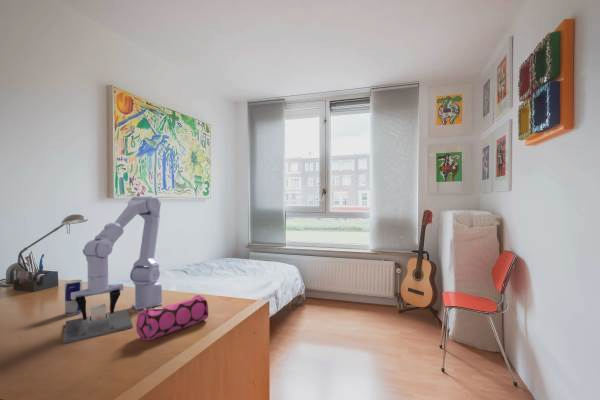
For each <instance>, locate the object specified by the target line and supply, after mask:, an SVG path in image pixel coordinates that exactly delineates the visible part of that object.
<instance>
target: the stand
mask: <svg viewBox="0 0 600 400" xmlns="http://www.w3.org/2000/svg"><path fill="white" fill-rule="evenodd" d="M133 325H134V324H133V323H132V319H131V317H130V315H129V312H128V310H127V309H126V308H125V309H120V310H116V311H115V310H114V313H112V314H111V313H110V311H109V312H106V318H102V319H101V317H97V320H93V321H91V315H90V316H89V315H88V316H86V320H83V317H79V318H74V319H70V320H66V321H65V324H64V330H63V331H64V333H63V338H62V339H63V340H62V344H63V345H65V344H69V343H73V342H76V341H82V340H85V339H89V338H95V337H99V336H104V335H106V334H112V333H117V332H120V331H125V330H129V329H133Z"/></svg>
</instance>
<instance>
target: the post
mask: <svg viewBox="0 0 600 400" xmlns="http://www.w3.org/2000/svg"><path fill="white" fill-rule="evenodd" d="M90 310H91V311H90V316H91V321H93V320H97V317H101V319H102V318H106V313H107V306H106V303H101V304H96V305H92V306H91V305H90Z"/></svg>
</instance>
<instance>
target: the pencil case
mask: <svg viewBox="0 0 600 400" xmlns="http://www.w3.org/2000/svg"><path fill="white" fill-rule="evenodd" d="M208 317H209V303H208V301H207V299H206V298H205V296H202V295H200V294H196V295H195V296H193V297H191V298H190V299H187V300H185V301H181V302H177V303H174V304H169V305H165V306H163V307H158V308H157V307H156V308H154V307H149V308H143V309H142V311H141V312H139V313H138V315H137V318H136V325H135V326H136V332H137V335H138V336H139V337H140V339H142V340H143V341H146V342H148V341H153V340H155V339H158V338H159V337H164V336H165V335H168V334H171V333H173V332H176V331H178V330H183V329H185V328H189V327H191V326H194V325H196V324H199V323H200V322H202V321H204V320H207V319H208Z"/></svg>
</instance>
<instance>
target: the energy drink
mask: <svg viewBox="0 0 600 400" xmlns="http://www.w3.org/2000/svg"><path fill="white" fill-rule="evenodd" d="M83 283H84V282H83V280H82V279H71V280H69V281H65V284H64V313H65V316H71V317H72V316H76V315H79V314H82V312H81V309H80V307H79V305H78V303H77V302H76V300H75V299H74V300H72V299H71V293H72V292H77V291H81V290H84V288H83Z"/></svg>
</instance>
